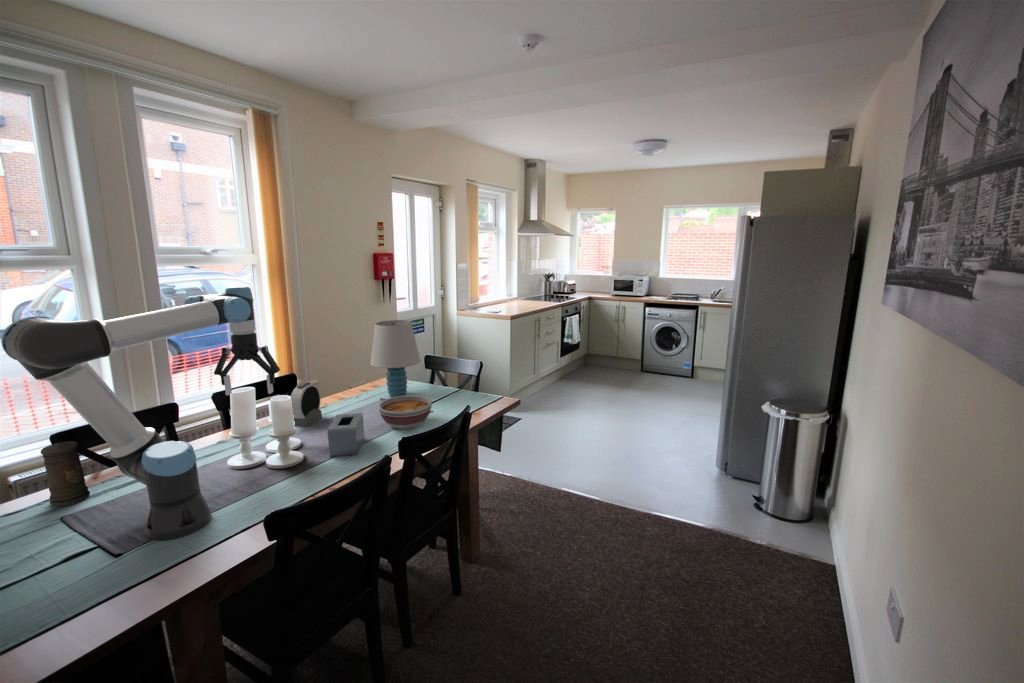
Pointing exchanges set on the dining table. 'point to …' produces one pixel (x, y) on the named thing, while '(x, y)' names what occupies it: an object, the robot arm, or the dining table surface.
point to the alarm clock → (306, 404)
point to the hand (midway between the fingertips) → (249, 393)
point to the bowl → (405, 411)
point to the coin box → (346, 435)
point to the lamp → (394, 353)
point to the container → (64, 474)
